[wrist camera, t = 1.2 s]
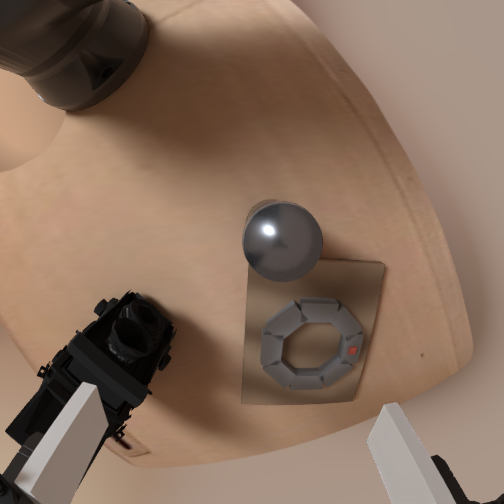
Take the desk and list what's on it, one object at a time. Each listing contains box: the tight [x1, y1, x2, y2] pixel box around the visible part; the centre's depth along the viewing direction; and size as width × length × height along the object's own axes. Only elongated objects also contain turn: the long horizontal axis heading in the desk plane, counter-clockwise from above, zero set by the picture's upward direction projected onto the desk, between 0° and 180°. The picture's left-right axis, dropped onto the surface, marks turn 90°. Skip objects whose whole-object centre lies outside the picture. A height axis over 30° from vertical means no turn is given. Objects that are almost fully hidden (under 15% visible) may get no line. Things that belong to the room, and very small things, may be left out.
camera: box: [5, 291, 177, 489], centre depth 20 cm, size 10×14×20 cm
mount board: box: [241, 258, 385, 405], centre depth 29 cm, size 18×14×3 cm
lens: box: [242, 200, 323, 282], centre depth 23 cm, size 6×5×10 cm
